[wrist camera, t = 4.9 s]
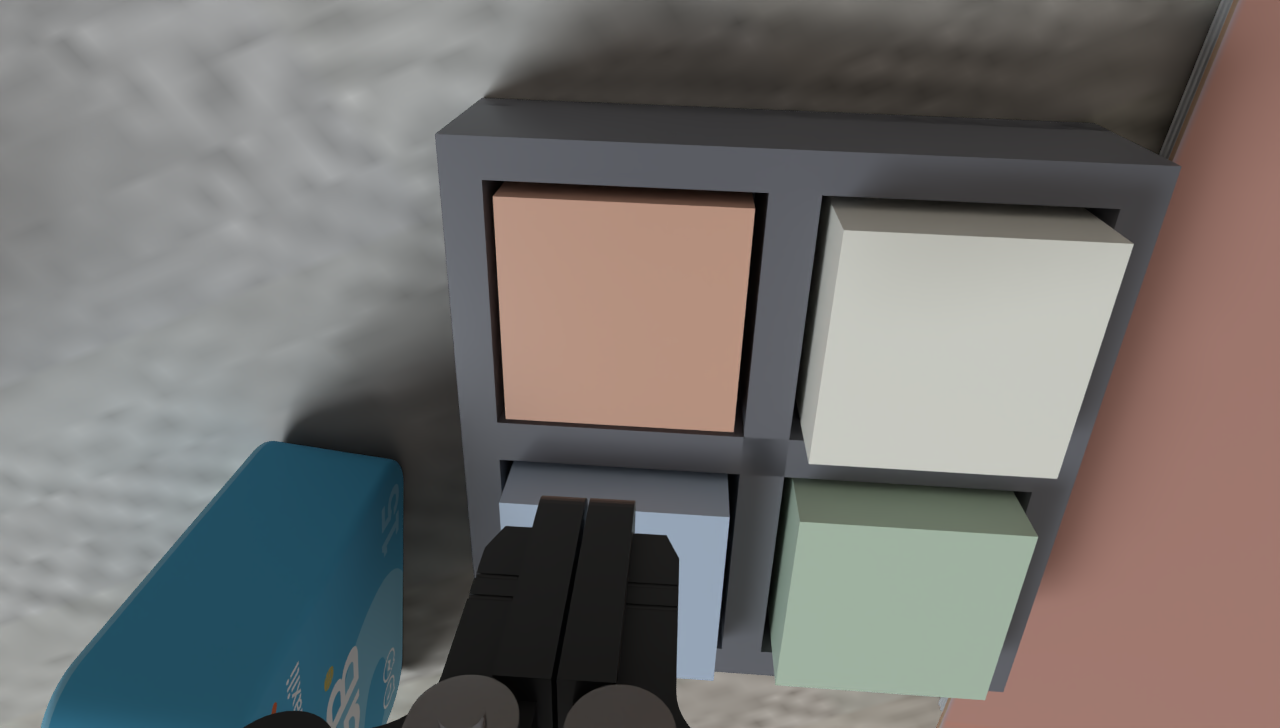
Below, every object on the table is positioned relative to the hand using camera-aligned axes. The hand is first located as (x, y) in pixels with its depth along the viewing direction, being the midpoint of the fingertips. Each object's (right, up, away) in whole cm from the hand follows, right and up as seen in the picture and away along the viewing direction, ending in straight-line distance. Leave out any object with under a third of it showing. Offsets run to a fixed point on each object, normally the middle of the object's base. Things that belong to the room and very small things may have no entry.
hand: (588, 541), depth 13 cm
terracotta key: (+1, +6, +10) cm, 11 cm away
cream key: (+8, +5, +9) cm, 13 cm away
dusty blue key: (0, -2, +13) cm, 13 cm away
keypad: (+4, +2, +13) cm, 14 cm away
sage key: (+8, -2, +12) cm, 15 cm away
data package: (-10, -5, +18) cm, 21 cm away
